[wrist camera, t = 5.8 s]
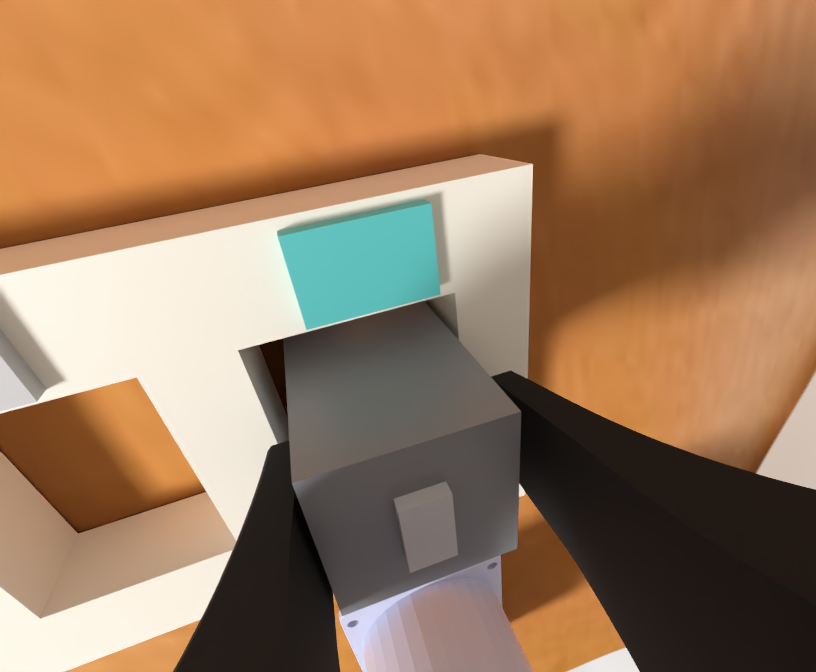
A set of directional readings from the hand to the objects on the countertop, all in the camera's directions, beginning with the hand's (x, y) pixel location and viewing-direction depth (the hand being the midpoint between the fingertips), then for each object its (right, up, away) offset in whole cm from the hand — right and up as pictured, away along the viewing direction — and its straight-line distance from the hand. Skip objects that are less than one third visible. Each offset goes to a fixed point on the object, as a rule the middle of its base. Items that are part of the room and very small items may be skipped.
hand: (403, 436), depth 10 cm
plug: (-1, +2, +3) cm, 4 cm away
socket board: (-5, +1, +2) cm, 5 cm away
